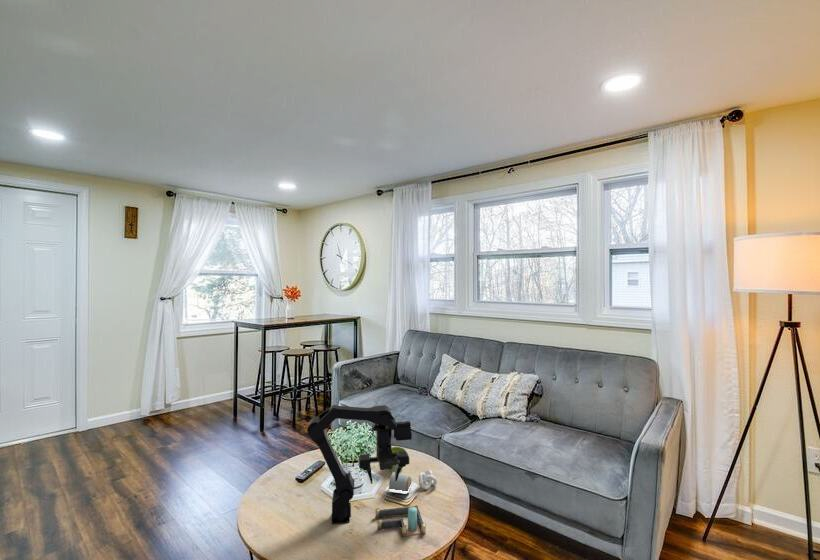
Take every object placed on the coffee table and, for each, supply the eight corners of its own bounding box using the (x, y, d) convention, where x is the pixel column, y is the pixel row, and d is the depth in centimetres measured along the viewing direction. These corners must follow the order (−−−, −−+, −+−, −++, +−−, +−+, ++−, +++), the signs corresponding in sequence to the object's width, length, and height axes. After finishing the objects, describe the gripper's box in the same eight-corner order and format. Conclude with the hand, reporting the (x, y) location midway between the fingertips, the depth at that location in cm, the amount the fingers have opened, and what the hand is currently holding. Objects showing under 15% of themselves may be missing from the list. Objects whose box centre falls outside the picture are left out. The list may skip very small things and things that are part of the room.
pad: (406, 535, 135) (406, 534, 135) (404, 526, 140) (404, 525, 140) (420, 533, 136) (420, 532, 136) (417, 524, 141) (417, 523, 141)
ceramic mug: (407, 498, 157) (408, 479, 157) (388, 496, 159) (388, 477, 159) (413, 485, 167) (413, 467, 167) (395, 483, 169) (395, 465, 169)
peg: (417, 531, 136) (417, 511, 136) (408, 532, 136) (408, 512, 136) (415, 525, 140) (415, 506, 140) (407, 526, 139) (407, 507, 139)
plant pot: (409, 468, 182) (409, 449, 182) (398, 476, 174) (398, 457, 174) (393, 462, 187) (393, 445, 187) (381, 471, 179) (381, 452, 179)
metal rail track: (379, 540, 132) (379, 531, 132) (375, 516, 145) (375, 508, 145) (426, 534, 135) (426, 526, 135) (417, 511, 149) (417, 503, 149)
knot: (416, 482, 170) (416, 468, 170) (433, 480, 172) (433, 467, 171) (419, 491, 163) (419, 477, 162) (438, 489, 164) (438, 475, 164)
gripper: (360, 452, 136) (360, 496, 136) (412, 448, 140) (412, 491, 140) (358, 439, 147) (358, 480, 147) (406, 435, 151) (406, 475, 151)
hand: (383, 482), depth 146 cm, fingers open, 9 cm apart
